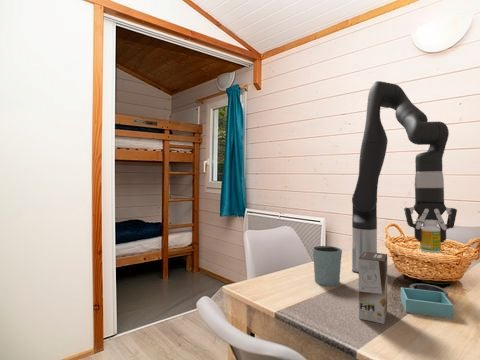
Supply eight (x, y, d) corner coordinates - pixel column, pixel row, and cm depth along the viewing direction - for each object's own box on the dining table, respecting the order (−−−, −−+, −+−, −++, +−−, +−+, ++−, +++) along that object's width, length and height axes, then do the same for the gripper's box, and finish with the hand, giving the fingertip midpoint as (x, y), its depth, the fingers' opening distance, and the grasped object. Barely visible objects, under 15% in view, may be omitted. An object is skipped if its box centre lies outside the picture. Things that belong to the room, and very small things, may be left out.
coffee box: (385, 324, 75) (385, 261, 75) (358, 318, 78) (358, 258, 78) (387, 311, 83) (387, 253, 83) (363, 306, 86) (363, 250, 86)
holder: (413, 299, 91) (413, 292, 91) (407, 287, 101) (407, 282, 101) (451, 304, 87) (451, 297, 87) (442, 291, 97) (442, 285, 97)
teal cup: (310, 284, 104) (310, 250, 104) (314, 275, 114) (314, 244, 114) (341, 288, 101) (341, 252, 101) (342, 279, 110) (342, 246, 110)
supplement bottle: (434, 253, 88) (434, 221, 88) (416, 250, 92) (415, 219, 92) (444, 251, 90) (443, 219, 90) (426, 248, 95) (425, 217, 95)
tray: (405, 312, 82) (405, 299, 82) (400, 298, 92) (400, 287, 92) (453, 318, 78) (453, 305, 78) (442, 304, 88) (442, 292, 88)
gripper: (405, 186, 90) (406, 242, 90) (461, 186, 86) (462, 245, 85) (400, 186, 97) (401, 238, 97) (452, 186, 93) (453, 240, 93)
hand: (430, 241), depth 91 cm, fingers closed on supplement bottle, 5 cm apart
